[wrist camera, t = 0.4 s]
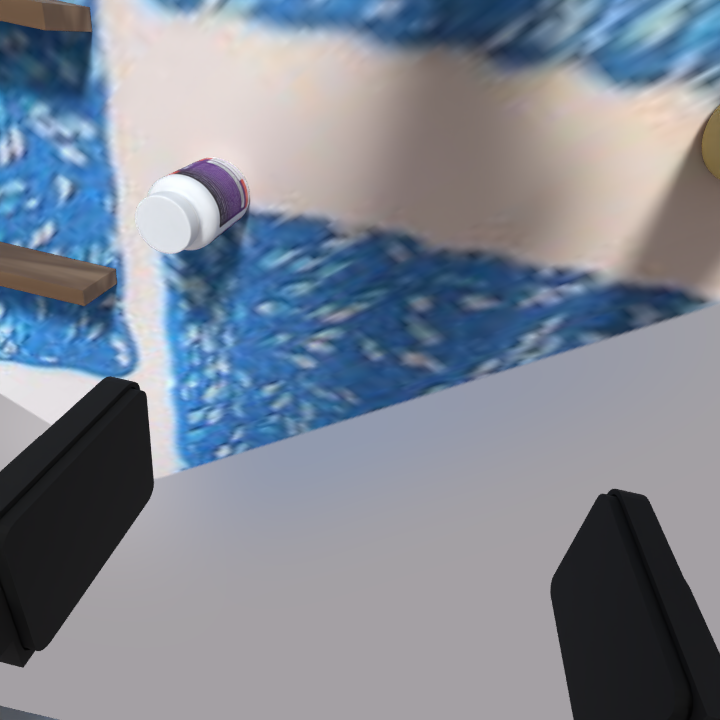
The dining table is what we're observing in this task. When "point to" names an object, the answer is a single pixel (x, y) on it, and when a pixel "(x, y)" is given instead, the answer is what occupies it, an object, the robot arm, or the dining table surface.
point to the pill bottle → (192, 206)
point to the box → (31, 267)
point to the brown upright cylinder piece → (712, 144)
